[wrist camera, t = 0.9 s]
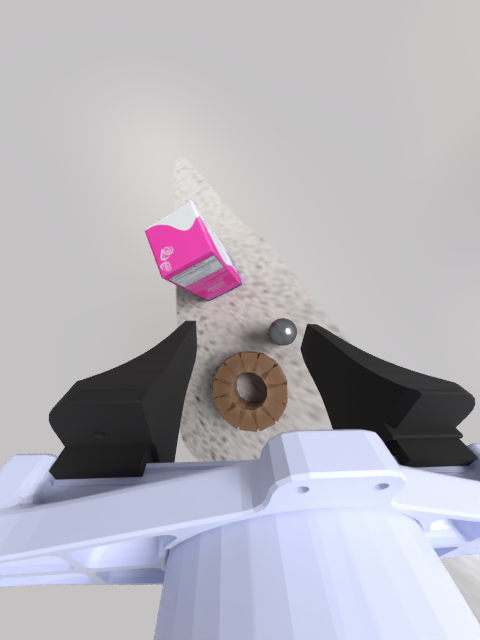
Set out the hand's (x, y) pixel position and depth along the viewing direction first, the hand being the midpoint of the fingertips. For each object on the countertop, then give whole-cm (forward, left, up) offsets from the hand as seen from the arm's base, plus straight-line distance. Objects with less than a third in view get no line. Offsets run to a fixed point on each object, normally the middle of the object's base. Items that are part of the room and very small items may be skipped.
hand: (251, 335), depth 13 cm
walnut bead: (-4, +5, -14) cm, 16 cm away
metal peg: (0, -2, -14) cm, 14 cm away
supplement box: (+12, +2, -14) cm, 19 cm away
